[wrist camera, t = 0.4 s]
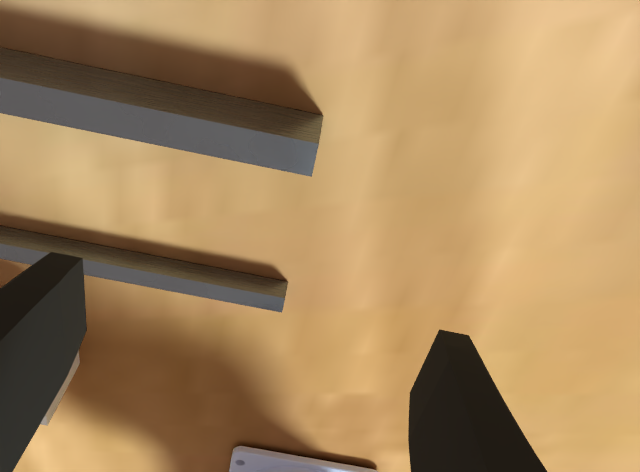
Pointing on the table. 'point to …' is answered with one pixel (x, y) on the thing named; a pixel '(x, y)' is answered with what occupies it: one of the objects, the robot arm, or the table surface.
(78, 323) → the robot arm
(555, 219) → the table surface
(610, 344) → the table surface
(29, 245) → the rail
